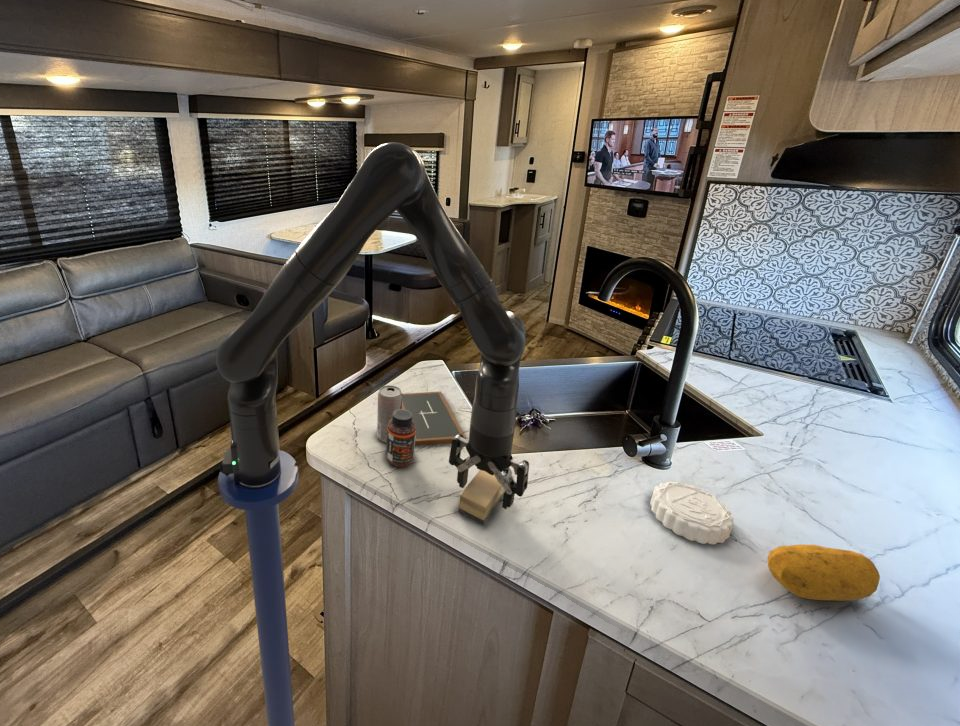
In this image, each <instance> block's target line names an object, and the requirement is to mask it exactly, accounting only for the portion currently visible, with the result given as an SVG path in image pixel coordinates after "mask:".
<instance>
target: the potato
mask: <svg viewBox="0 0 960 726" xmlns="http://www.w3.org/2000/svg"><path fill="white" fill-rule="evenodd" d="M766 561H767V567H768V569H769V572H770V574H771V576H772V577H773V578H774V579H775V580H776V581H777V582H778V583H779V585H781V587H783V588H784V589H786V590H787V591H789V592H790V593H792V594H793V595H795V596H797V597H799V598H803V599H808V600H814V601H815V600H816V601H838V602H839V601H840V602H841V601H843V602H845V601H856V600H862V599H866V598H869V597H871V596H872V595H874V593H876V591H877V590H878V587H879V583H880V579H881V576H880V572H879V570H878V569H877V568H878V567H876V565H875V563H874V562H873V561H872V560H871V559H870V558H868V557H867V556H865V554H863V553H859V552H856V551H852V550H848V549H847V550H846V549H840V548H833V547H826V546H821V545H816V544H792V545H779V546H777V547H775V548H773V549H772V550H770V551H769V553H768V555H767V560H766Z"/></svg>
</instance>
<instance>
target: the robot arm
mask: <svg viewBox="0 0 960 726" xmlns="http://www.w3.org/2000/svg"><path fill="white" fill-rule="evenodd" d="M395 212H397V213H398V214H399V216H400V217H401V218H402V219H403V220H404V222H405V223H406V224H407V225H408V227H409V228H410V230H411V231H412V233H413V234H414V236H415V238H416V239H417V241H418V243H419V245H420V246H421V249H422V251H423V253H424V254H425V257H426V259H427V261H428V263H429V265H430V267H431V269H432V271H433V273H434V274H435V276H436V278H437V280H438V282H439V284H440V285H441V286H442V288H443V289H444V290H445V293H446V294H447V295H448V297H449V298H450V300H451V301H452V303H453V305H455V306H454V307H456V308H457V310H458V311H459V313H460V314H461V317H462V319H463V322H464V324H465V326H466V328H467V330H468V332H469V335H470V337H471V339H472V341H473V343H474V345H475V346H476V348H477V350H478V352H479V353H480V363H479V367H478V371H477V374H476V379H475V387H474V397H473V402H472V406H471V412H470V422H469V433H468V439H467V438H466V439H464V438H463V435H462V434H461V433H459V434H458V435H457V436H456V437H455V438H454V439H453V440H452V443H450V444H451V445H450V450H449V458H448V463H449V465H451V466H455V467H456V470H457V474H456V475H457V476H456V483H457V484H458V487H459V488H461V489H465V487H466V485H468V479H469V470H470V468H472V467H473V466H475V467H476V469H477V470H478V471H479V470H482V471H486V472H487V473H488V474H490V475H495V477H496V479H497V481H498V482H499V483H500V484H502V486H503V488H504V490H505V492H504V495H503V497H502V503H501V508H502V509H504V510H507V509H508V508H511V506H513V503H514V501H515V495H516V496H517V497H522V496H523V495H524V493H525V491H526V490H527V488H528V483H529V470H530V462H529V461H528V460H526V459H523V460H522V461H519V460H517V459H514V457H513V456H512V450H513V443H514V435H515V429H516V426H517V403H518V398H519V397H518V396H519V389H520V388H519V387H520V385H519V384H520V366H521V361H522V356H523V354H524V353H525V349H526V333H527V332H526V331H527V330H526V326H525V323H524V321H523V319H522V318H521V317H520V316H519V315H518V314H517V313H516V312H513V311H510V310H505V308H504V306H503V305H502V303H501V301H500V298H499V293H498V289H497V287H496V285H495V282H494V281H493V279H492V278H491V277H490V275H489V273H488V272H487V270H486V269H485V268H484V266H483V265H482V263H481V261H480V260H479V258H478V257H477V256H476V254H475V253H474V250H473V249H472V248H471V247H470V246H469V244H468V243H467V241H466V240H465V238H464V237H463V236H462V234H461V233H460V231H459V230H458V228H457V227H456V226H455V224H454V222H453V221H452V220H451V219H450V217H449V214H448V213H447V211H446V210H445V208H444V207H443V204H442V202H441V201H440V199H439V197H438V195H437V193H436V191H435V189H434V186H433V185H432V181H431V180H430V177H429V175H428V172H427V170H426V166H425V162H424V160H423V158H422V156H421V155H420V154H419V153H418V151H416V150H415V149H414V148H413V147H411V146H409V145H406V144H404V143H401V142H396V141H390V142H386V143H382V144H380V145H378V146H376V147H375V148H374V149H372V150H371V152H369V153H368V155H367V156H366V157H365V158H364V160H363V162H362V163H361V165H360V166H359V169H358V170H357V172H356V173H355V175H354V177H353V178H352V180H351V182H350V183H349V184H348V185H347V188H346V189H345V190H344V192H343V194H342V195H341V197H340V198H339V199H338V201H337V202H336V204H335V205H334V206H333V207H332V208H331V210H330V211H329V212H328V213H327V214H326V215H325V216H324V217H323V218H322V219H321V220H320V221H319V223H318V224H317V225H316V226H315V227H314V228H313V229H312V230H311V232H310V233H309V234H308V235H307V236H306V237H305V238H304V240H302V242H301V243H300V244H299V245H298V246H297V248H296V249H295V250H294V252H292V254H291V255H290V256H289V257H288V258H287V260H286V261H285V263H284V264H283V265H282V267H281V268H280V270H279V271H278V272H277V274H276V275H275V277H274V279H273V280H272V281H271V283H270V284H269V285H268V287H267V288H266V290H265V292H264V293H263V295H262V297H261V298H260V300H259V302H258V304H257V305H256V306H255V308H254V310H253V311H252V312H251V313H250V315H248V317H247V318H246V319H245V320H244V321H243V322H242V323H241V324H239V325H237V326H236V327H235V328H234V329H233V330H232V331H231V332H230V333H229V334H228V335H227V336H226V337H225V338H224V339H223V340H222V342H221V343H220V344H219V346H218V348H217V351H216V355H215V365H216V368H217V371H218V373H219V375H220V376H221V377H222V378H223V379H224V380H225V381H227V382H230V385H229V388H228V391H227V394H226V395H227V396H226V397H227V408H228V417H229V424H230V433H231V442H230V446H229V447H230V448H229V449H225V452H224V456H223V460H222V461H221V462H220V464H219V466H218V470H219V471H221V472H222V473H223V474H225V475H226V476H228V475H229V474H232V473H233V475H234V484H235V485H241V486H243V487H245V488H249V489H259V488H264V487H267V486H269V485H271V484H272V483H274V482H275V481H276V480H277V479H278V478H279V476H280V474H281V462H280V451H279V450H280V437H279V423H278V409H277V389H278V384H279V383H278V382H279V372H278V371H279V370H278V369H279V368H278V365H279V364H278V349H279V348H280V346H281V345H282V344H283V342H284V341H285V340H286V339H287V338H288V336H289V335H290V334H292V332H294V330H296V329H297V328H298V327H299V326H300V325H301V324H302V323H303V322H304V321H306V320H307V319H308V318H309V316H310V315H312V314H313V313H314V312H315V311H316V309H317V308H318V307H319V306H320V305H321V304H322V303H323V302H324V301H325V300H326V299H327V298H328V297H329V296H330V295H331V294H332V292H333V291H335V289H336V287H337V286H339V284H340V283H341V282H342V281H343V279H344V278H345V276H346V275H347V274H348V272H349V271H350V270H351V268H352V267H353V264H354V263H355V261H356V260H357V259H358V256H359V255H360V253H361V252H362V250H363V248H364V247H365V245H366V243H367V242H368V240H369V239H370V238H371V236H372V235H373V234H374V233H375V232H376V230H377V229H379V228H380V226H382V225H383V223H385V222H386V220H388V218H390V217H391V216H392V215H393V214H394V213H395ZM464 448H465V449H466V451H467V453H468V455H469V456H467V457H466V458H464V459H463V458H461V456H462V455H461V454H462V450H463V449H464ZM510 467H512V469H513V472H512V469H511V468H510ZM513 473H514V475H515V476H516V480H515V478H514V476H513Z"/></svg>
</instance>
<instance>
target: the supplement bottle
mask: <svg viewBox="0 0 960 726" xmlns="http://www.w3.org/2000/svg"><path fill="white" fill-rule="evenodd" d="M415 433H416V425H415V423H414V422H413V420H412V414H411V412H409V411H408V410H405V409H398V410H395V411H394V412H393V417H392V419H391V420H390V421H389V422H388V426H387V443H386V449H385V458H386V461H387V462H388V463H389V464H391V465H392V466H395V467H399V468H401V467H402V468H403V467H408V466H410V465H411V464H412V463H413V462H414V458H415V457H414V456H415V448H416V446H415Z"/></svg>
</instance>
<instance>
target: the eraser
mask: <svg viewBox="0 0 960 726" xmlns="http://www.w3.org/2000/svg"><path fill="white" fill-rule="evenodd" d="M504 492H505V490H504V488H503V486H502V484H500V483H499V482H498V481H497V479H496V477H495V475H490V474H488V473H487V472H486V471H482V470H479V469H478V471H477V473H476V474H475V475H474V477H473V478H472V479H471V480H470V482H469V483H467V486H465V487H464V488H463V491H462V492H461V493H460V494H459V500H458V509H457V510H458V513H460V514H461V515H463V516H465V517H467V518H468V519H471V520H473V521H475V522H476V523H478V524H480V525H482V526H485V524H486V523H487V521H488V520H489V518H490V517H491V516H492V513H493V512H494V511H495V509H496V508H497V506H498V505H499V503H500V501H501V500H502V499H503V496H504Z"/></svg>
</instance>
